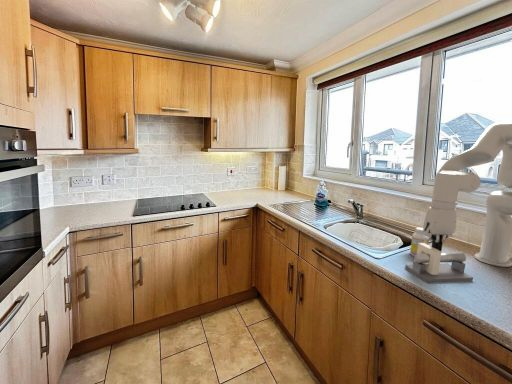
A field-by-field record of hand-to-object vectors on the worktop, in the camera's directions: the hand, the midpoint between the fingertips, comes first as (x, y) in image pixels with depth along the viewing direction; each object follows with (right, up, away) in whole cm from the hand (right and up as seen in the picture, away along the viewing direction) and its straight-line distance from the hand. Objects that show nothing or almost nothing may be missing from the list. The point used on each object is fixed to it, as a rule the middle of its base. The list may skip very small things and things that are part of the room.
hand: (436, 250), depth 104 cm
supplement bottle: (+5, -7, +20) cm, 22 cm away
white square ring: (-3, -7, +1) cm, 8 cm away
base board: (+2, -10, +2) cm, 10 cm away
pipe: (+2, -8, +2) cm, 9 cm away
